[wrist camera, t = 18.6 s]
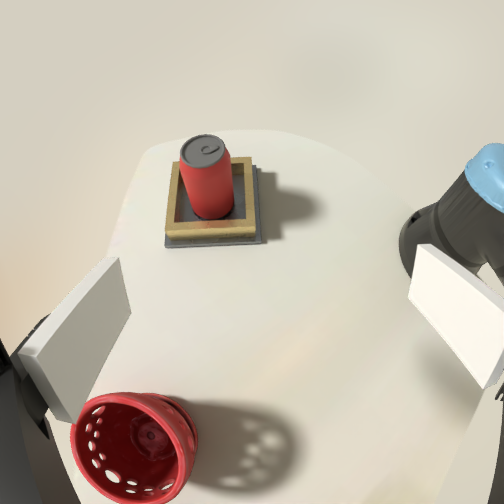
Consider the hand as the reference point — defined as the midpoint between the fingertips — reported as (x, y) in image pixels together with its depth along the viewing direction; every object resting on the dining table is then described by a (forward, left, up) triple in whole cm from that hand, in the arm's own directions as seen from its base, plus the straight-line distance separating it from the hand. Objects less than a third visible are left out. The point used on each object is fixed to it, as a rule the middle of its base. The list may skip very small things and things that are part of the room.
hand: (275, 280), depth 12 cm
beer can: (+6, -22, -27) cm, 35 cm away
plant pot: (+14, +12, -28) cm, 34 cm away
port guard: (+6, -22, -28) cm, 36 cm away
